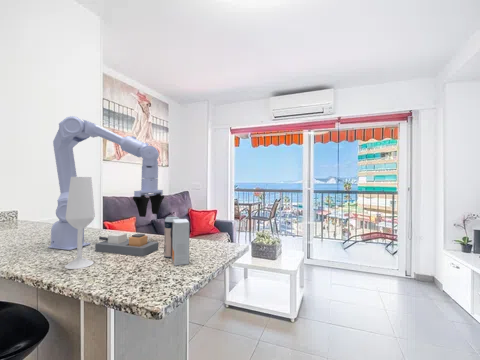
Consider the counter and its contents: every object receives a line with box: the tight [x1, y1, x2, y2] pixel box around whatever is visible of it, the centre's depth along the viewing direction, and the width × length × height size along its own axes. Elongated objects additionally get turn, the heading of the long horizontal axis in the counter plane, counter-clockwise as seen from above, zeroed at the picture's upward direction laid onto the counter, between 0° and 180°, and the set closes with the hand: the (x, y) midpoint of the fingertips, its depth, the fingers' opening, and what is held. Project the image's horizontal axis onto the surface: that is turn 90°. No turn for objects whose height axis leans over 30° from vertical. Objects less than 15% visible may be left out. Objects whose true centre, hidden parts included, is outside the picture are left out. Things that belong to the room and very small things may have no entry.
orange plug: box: [128, 233, 149, 247], centre depth 80 cm, size 4×4×6 cm
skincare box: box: [171, 218, 190, 266], centre depth 70 cm, size 6×4×12 cm
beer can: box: [163, 216, 180, 259], centre depth 75 cm, size 5×5×12 cm
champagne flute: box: [64, 176, 96, 270], centre depth 67 cm, size 7×7×24 cm
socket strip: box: [94, 232, 159, 257], centre depth 81 cm, size 20×8×5 cm, turn 76°
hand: (149, 215), depth 90 cm, fingers open, 7 cm apart
